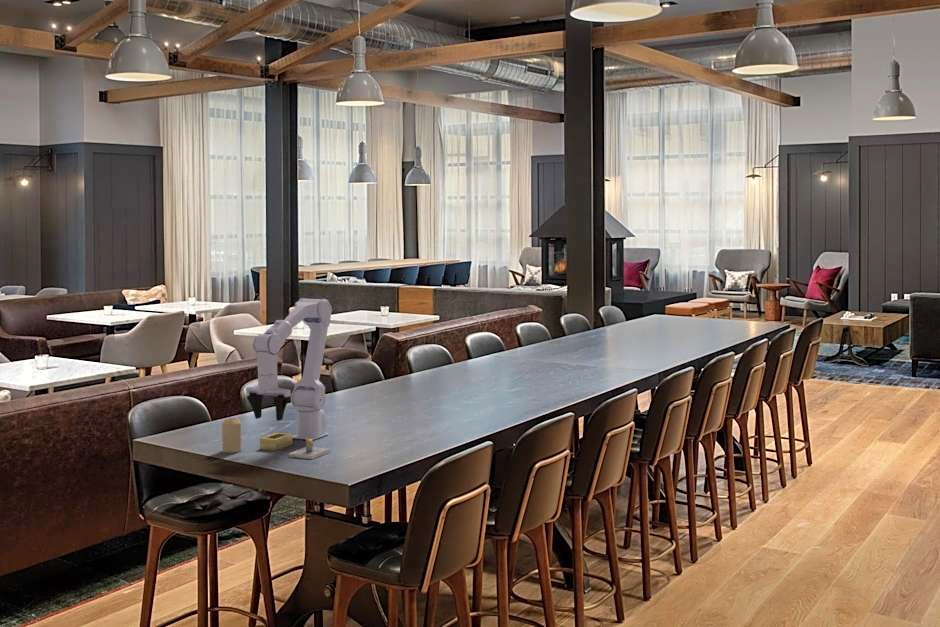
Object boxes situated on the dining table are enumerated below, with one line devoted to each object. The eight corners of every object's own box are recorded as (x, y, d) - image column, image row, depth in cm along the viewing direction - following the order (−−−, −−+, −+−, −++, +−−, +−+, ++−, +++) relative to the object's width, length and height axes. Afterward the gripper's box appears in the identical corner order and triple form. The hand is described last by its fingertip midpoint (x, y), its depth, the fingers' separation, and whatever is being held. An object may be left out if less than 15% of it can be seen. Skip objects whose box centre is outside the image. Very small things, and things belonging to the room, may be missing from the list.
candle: (243, 448, 306) (242, 416, 305) (239, 452, 301) (238, 419, 300) (224, 448, 306) (223, 416, 305) (220, 453, 301) (220, 419, 300)
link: (277, 442, 314) (277, 432, 314) (292, 444, 312) (292, 434, 312) (260, 448, 306) (259, 438, 306) (275, 450, 304) (275, 439, 304)
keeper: (307, 449, 305) (307, 434, 304) (330, 452, 302) (330, 437, 301) (288, 456, 296) (288, 441, 295) (312, 459, 292) (311, 444, 292)
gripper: (239, 374, 301) (240, 419, 303) (280, 377, 296) (281, 423, 297) (253, 371, 308) (254, 415, 309) (294, 373, 302) (295, 418, 304)
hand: (269, 418), depth 304 cm, fingers open, 7 cm apart
